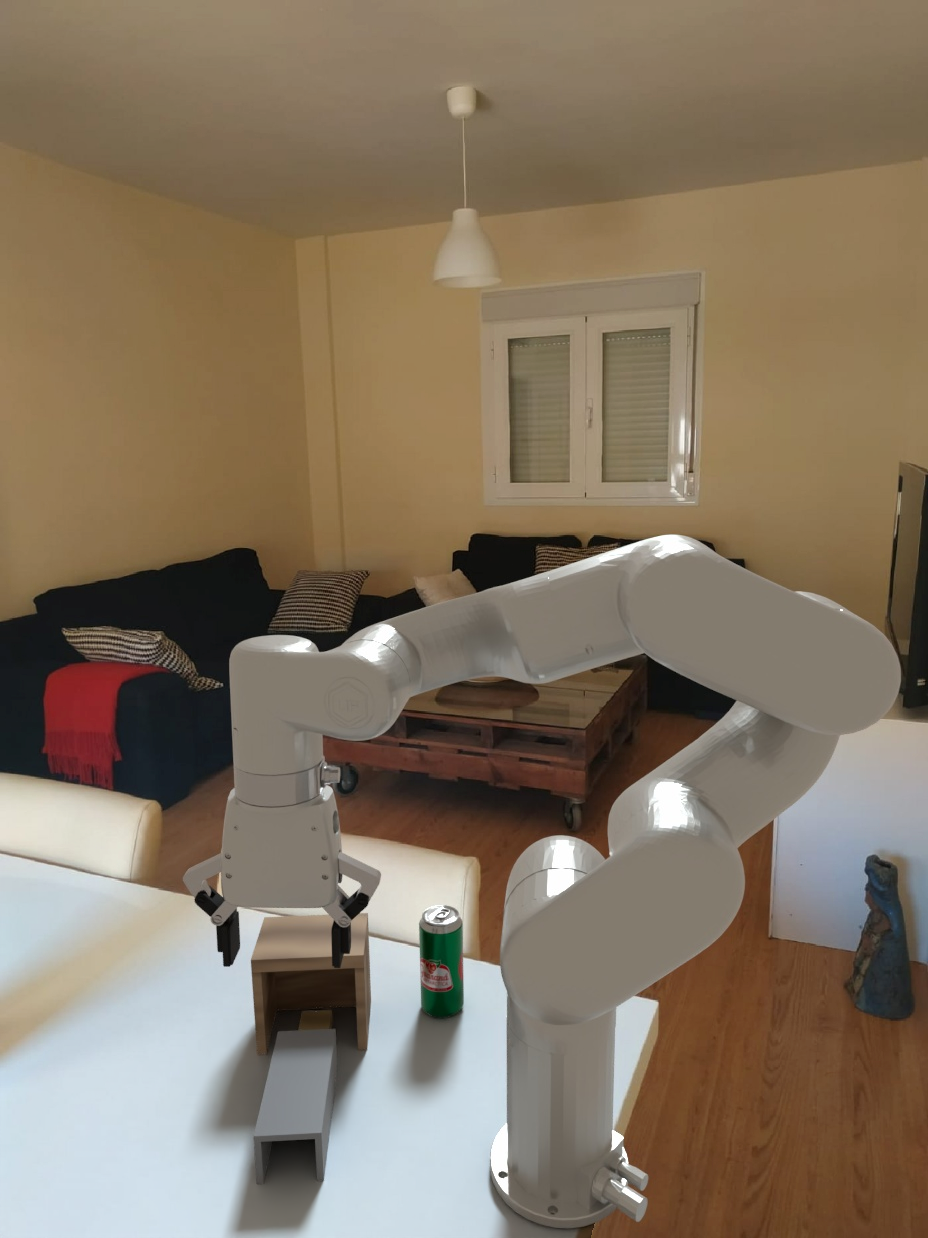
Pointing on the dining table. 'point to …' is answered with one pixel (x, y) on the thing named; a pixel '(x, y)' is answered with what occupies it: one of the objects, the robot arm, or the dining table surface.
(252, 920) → the dining table surface
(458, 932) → the soda can
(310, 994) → the shelf
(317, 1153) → the grey u-shaped piece
